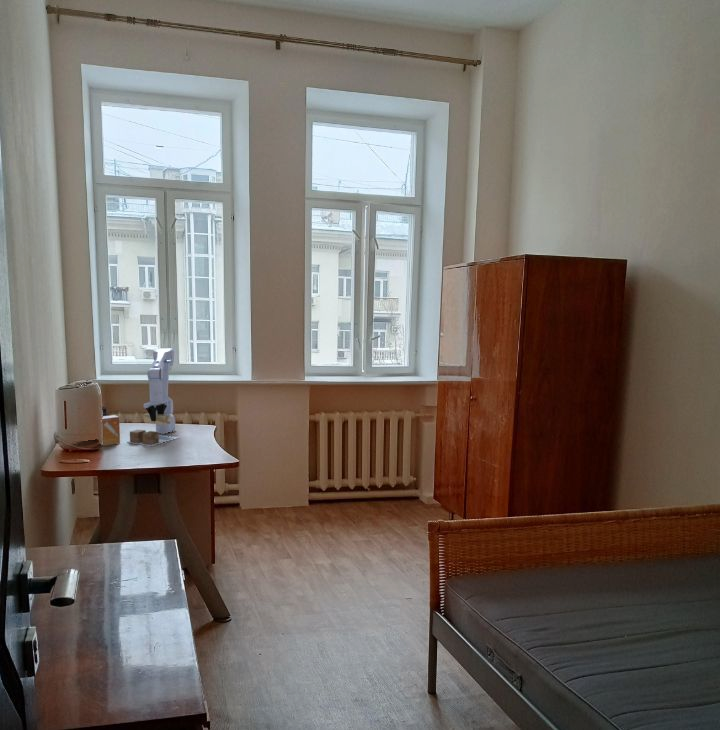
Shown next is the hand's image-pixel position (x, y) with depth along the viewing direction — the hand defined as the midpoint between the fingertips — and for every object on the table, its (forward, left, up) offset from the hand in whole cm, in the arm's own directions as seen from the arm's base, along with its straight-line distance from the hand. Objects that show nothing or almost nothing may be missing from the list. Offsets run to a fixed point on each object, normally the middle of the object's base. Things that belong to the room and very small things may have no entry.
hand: (156, 420), depth 275 cm
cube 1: (+8, -4, -9) cm, 13 cm away
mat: (+2, 0, -10) cm, 10 cm away
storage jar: (+10, -29, -10) cm, 32 cm away
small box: (+16, -14, -10) cm, 24 cm away
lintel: (0, 0, -1) cm, 1 cm away
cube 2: (+8, +4, -9) cm, 13 cm away
